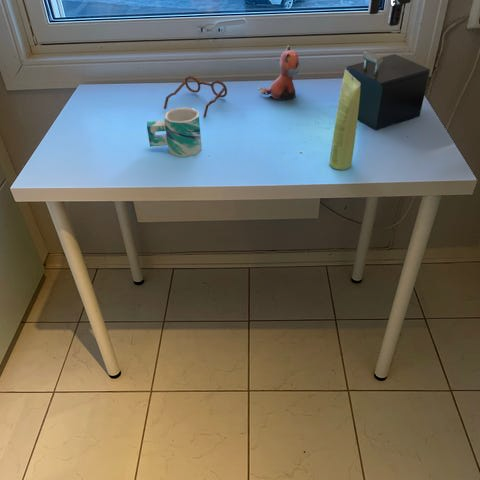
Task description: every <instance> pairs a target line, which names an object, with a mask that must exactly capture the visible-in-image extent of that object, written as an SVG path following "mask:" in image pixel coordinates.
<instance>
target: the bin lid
mask: <svg viewBox="0 0 480 480" xmlns="http://www.w3.org/2000/svg"><path fill="white" fill-rule="evenodd" d="M362 59H364V61H363V62H359V63H355V64H351V65H347V66H346V70H347V71H348V72H349V71H350V72H352V73H354V74H356V75H358V76H360V77H362V78H364V79H366V80H369V81H371V82H373V83H375V84H377V85H379V86H383V85H387V84H391V83H394V82H398V81H401V80H405V79H408V78H412V77H415V76H419V75H422V74H426V73H429V74H430V72H431V69H430V68H428V67H426V66H424V65H421V64H419V63H417V62H414V61H412V60H411V59H408V58H405V57H402V56H400V55H398V54H396V53H393V54H390V55H386V56H380V55H378V54H376V53H373V52H371V51H370V50H365V51H364V52H363V54H362Z"/></svg>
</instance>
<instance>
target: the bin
mask: <svg viewBox="0 0 480 480" xmlns="http://www.w3.org/2000/svg"><path fill="white" fill-rule="evenodd" d="M348 72H349V73H350V74H351V75H352V76H353V77H354V78H355V79H356V80H358V81H359V82H360V83H361V85H360V99H359V109H358V118H357V122H358V121H359V122H360V123H362V124H364V125H366V126H368V127H369V128H371V129H372V130H374V131H377V130H381V129H385V128H387V127H391V126H394V125H397V124H401V123H404V122H406V121H410V120H413V119H415V118H419V117H420V116H421V112H422V107H423V103H424V100H425V99H424V98H425V94H426V89H427V85H428V82H429V76H430V72H429V73H426V74H422V75H419V76H415V77H412V78H408V79H405V80H401V81H398V82H394V83H391V84H387V85H383V86H379V85H377V84H375V83H373V82H371V81H369V80H366V79H364V78H362V77H360V76H358V75H356V74H354V73H352V72H350V71H348Z"/></svg>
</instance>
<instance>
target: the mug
mask: <svg viewBox="0 0 480 480" xmlns="http://www.w3.org/2000/svg"><path fill="white" fill-rule="evenodd" d="M200 124H201V123H200V113H199V111H198V110H196V109H195V108H192V107H183V106H181V107H177V108H171V109H169V110H168V111H166V112H165V113H164V117H163V120H150V121H147V123H146V129H147V137H148V142H149V147H150V148H151V147H167V149H168V153H169V154H171V155H173V156H174V157H181V158H187V157H191V156H196V155H197V154H198V153H200V152H201V151H202V150H203V149H202V137H201V135H202V134H201V125H200ZM158 132H165V133H160V134H156V133H158Z"/></svg>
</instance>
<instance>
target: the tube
mask: <svg viewBox="0 0 480 480" xmlns="http://www.w3.org/2000/svg"><path fill="white" fill-rule="evenodd" d="M360 85H361V83H360V82H359V81H358V80H356V79H355V78H354V77H353V76H352V75H351V74H350V73H349V71H348V70H347V68H345V69H344V74H343V78H342V82H341V87H340V94H339V98H338V104H337V111H336V114H335V115H336V116H335V122H334V127H333V134H332V142H331V149H330V156H329V166H330V167H331V168H333V169H335V170H341V171H343V170H348V169H350V168H351V167H352V164H353V156H354V149H355V142H356V133H357V125H358V120H357V118H358V109H359V99H360Z"/></svg>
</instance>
